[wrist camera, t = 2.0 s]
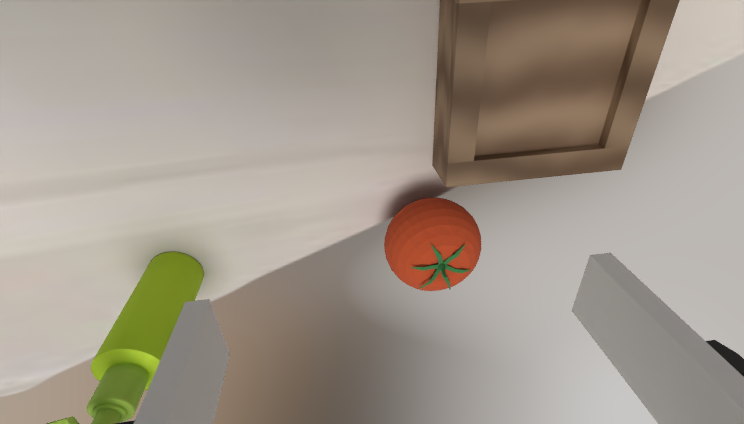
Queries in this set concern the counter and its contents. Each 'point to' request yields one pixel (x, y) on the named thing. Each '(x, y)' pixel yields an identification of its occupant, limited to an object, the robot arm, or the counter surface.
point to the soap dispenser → (140, 337)
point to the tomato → (432, 244)
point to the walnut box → (542, 85)
